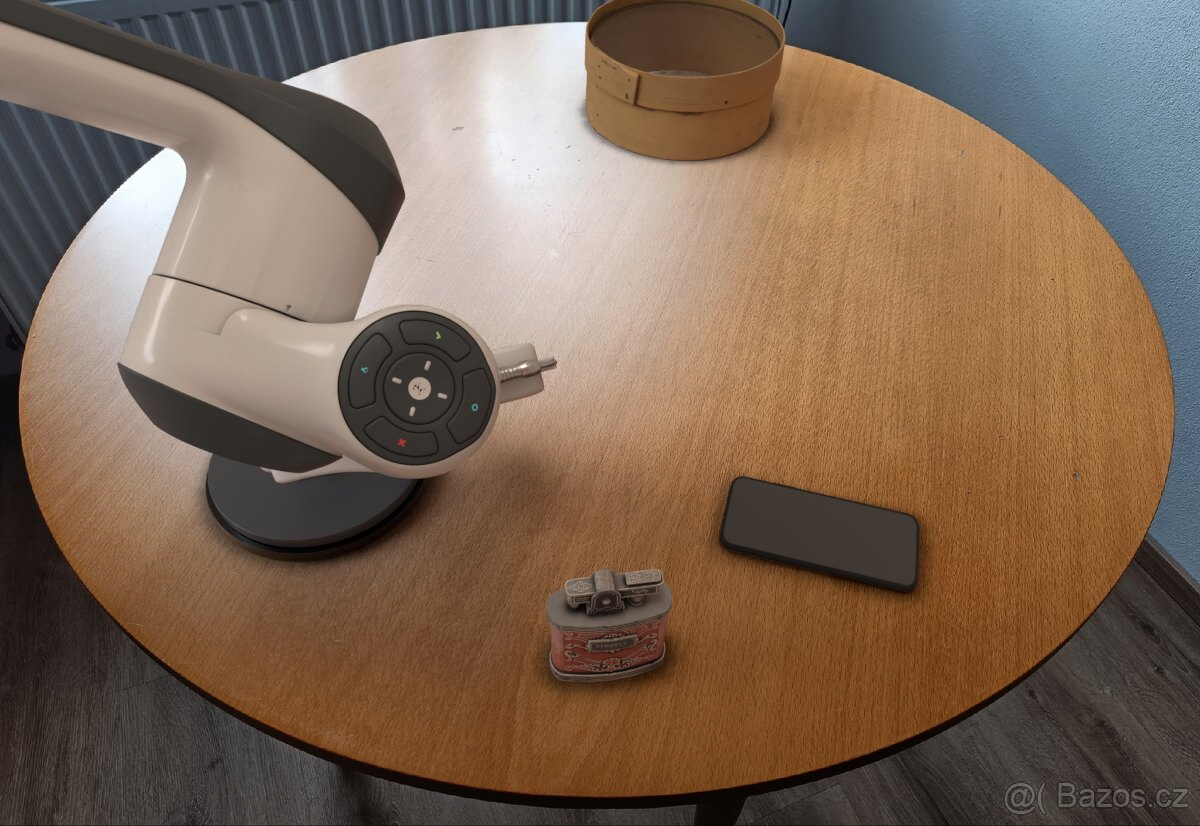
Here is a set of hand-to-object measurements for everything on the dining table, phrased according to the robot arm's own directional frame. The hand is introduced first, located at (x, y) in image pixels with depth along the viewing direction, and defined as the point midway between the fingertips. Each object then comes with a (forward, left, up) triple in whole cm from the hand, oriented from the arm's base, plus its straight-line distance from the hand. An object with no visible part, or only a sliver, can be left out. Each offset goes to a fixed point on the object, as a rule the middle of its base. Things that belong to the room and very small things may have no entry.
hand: (397, 404), depth 67 cm
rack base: (-4, +6, -7) cm, 10 cm away
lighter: (-7, -23, -7) cm, 25 cm away
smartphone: (+10, -32, -7) cm, 34 cm away
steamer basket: (+66, +7, -7) cm, 67 cm away
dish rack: (-4, +6, -6) cm, 9 cm away
